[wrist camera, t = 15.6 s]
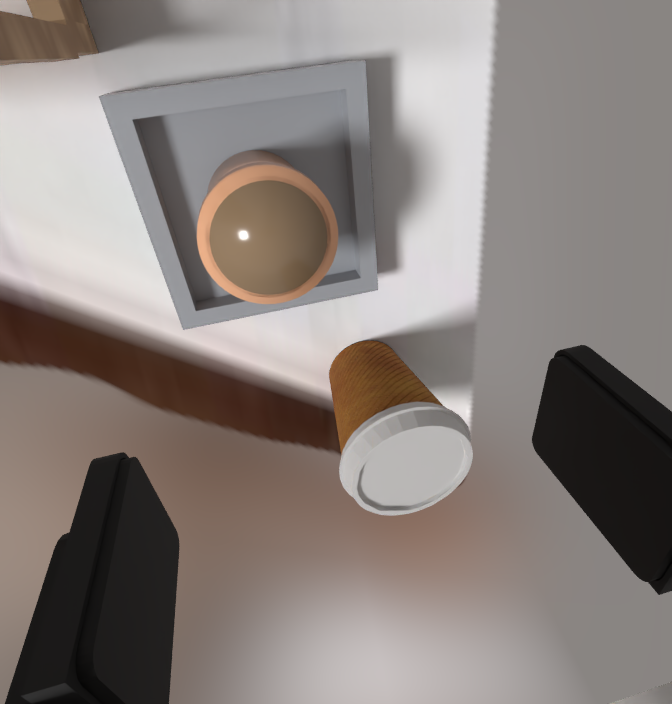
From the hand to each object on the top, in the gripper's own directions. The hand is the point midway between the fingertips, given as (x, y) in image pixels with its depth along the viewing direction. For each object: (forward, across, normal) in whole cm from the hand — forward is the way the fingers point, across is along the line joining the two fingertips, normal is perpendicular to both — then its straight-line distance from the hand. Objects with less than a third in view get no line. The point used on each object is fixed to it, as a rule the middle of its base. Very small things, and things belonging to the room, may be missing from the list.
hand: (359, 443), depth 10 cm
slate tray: (+23, 0, +1) cm, 23 cm away
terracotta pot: (+22, 0, +1) cm, 22 cm away
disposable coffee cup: (+24, -6, +17) cm, 29 cm away
